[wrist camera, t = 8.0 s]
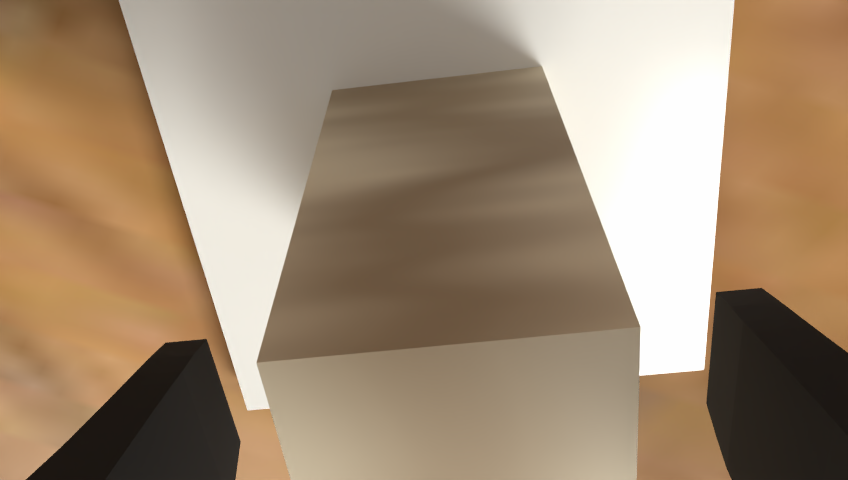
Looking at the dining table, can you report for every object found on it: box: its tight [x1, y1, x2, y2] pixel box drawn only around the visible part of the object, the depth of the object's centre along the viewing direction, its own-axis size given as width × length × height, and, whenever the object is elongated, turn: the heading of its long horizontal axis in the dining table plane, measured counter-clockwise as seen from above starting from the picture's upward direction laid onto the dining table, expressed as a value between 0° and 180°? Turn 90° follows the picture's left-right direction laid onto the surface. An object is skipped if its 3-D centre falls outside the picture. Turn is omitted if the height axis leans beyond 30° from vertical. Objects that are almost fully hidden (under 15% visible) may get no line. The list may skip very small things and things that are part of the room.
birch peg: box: [256, 66, 641, 480], centre depth 13 cm, size 4×4×8 cm
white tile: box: [119, 0, 734, 410], centre depth 17 cm, size 11×11×1 cm
